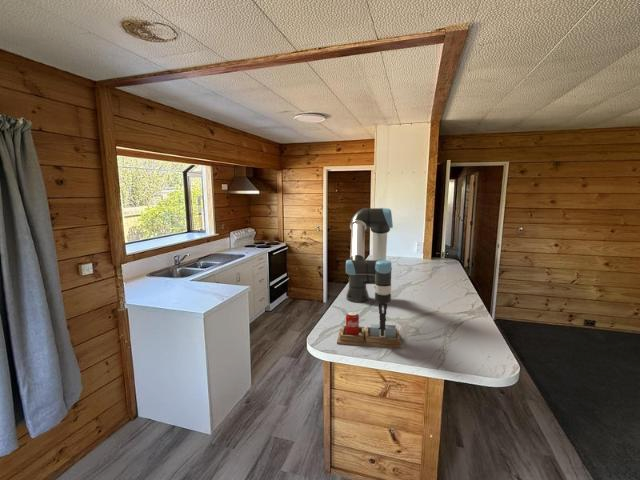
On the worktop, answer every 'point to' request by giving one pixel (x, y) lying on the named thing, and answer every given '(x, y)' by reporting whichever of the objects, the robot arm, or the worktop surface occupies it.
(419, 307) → the worktop surface
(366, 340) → the tray
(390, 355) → the worktop surface
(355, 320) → the beverage can
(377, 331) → the bar
